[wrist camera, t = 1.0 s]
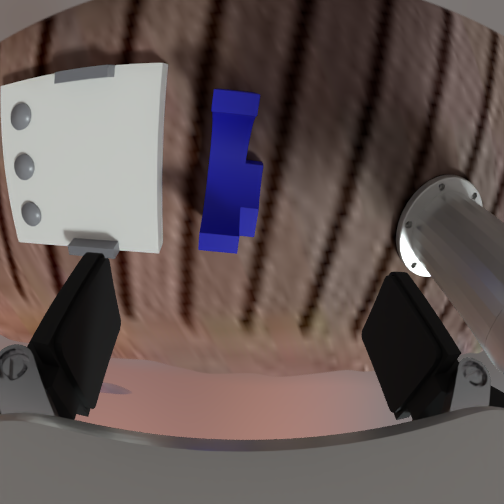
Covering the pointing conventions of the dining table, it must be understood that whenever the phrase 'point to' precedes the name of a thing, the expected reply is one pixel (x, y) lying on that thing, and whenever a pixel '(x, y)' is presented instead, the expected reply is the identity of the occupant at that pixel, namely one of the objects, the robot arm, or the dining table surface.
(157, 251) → the white square board
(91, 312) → the robot arm
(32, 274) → the dining table surface
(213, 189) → the cable clip
